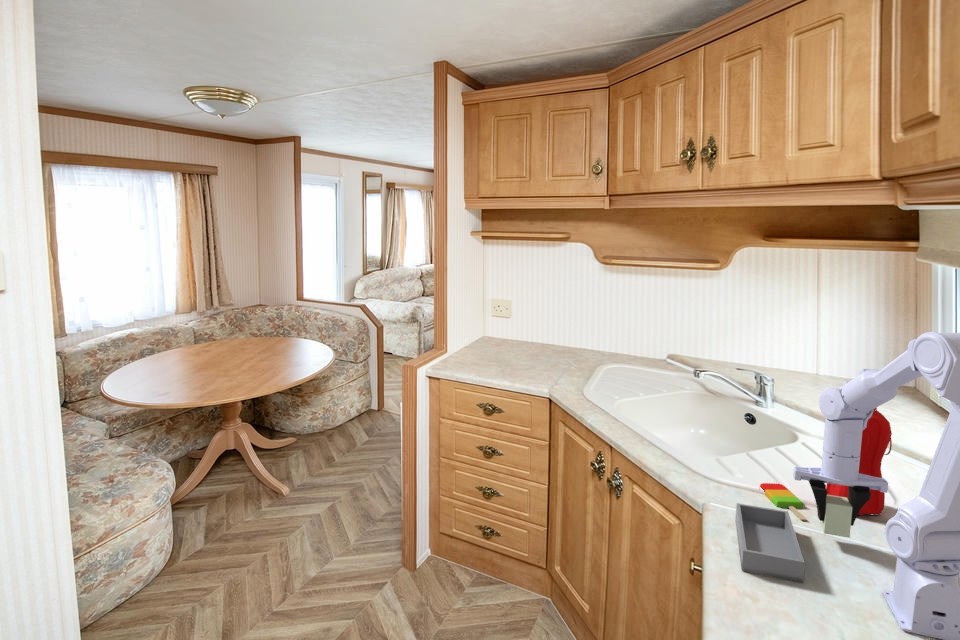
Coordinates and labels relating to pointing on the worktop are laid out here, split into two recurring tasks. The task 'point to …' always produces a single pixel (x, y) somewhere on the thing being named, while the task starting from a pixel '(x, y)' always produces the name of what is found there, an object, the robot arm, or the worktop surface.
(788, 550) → the bin
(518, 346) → the worktop surface
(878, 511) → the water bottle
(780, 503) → the popsicle
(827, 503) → the sage block
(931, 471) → the robot arm
